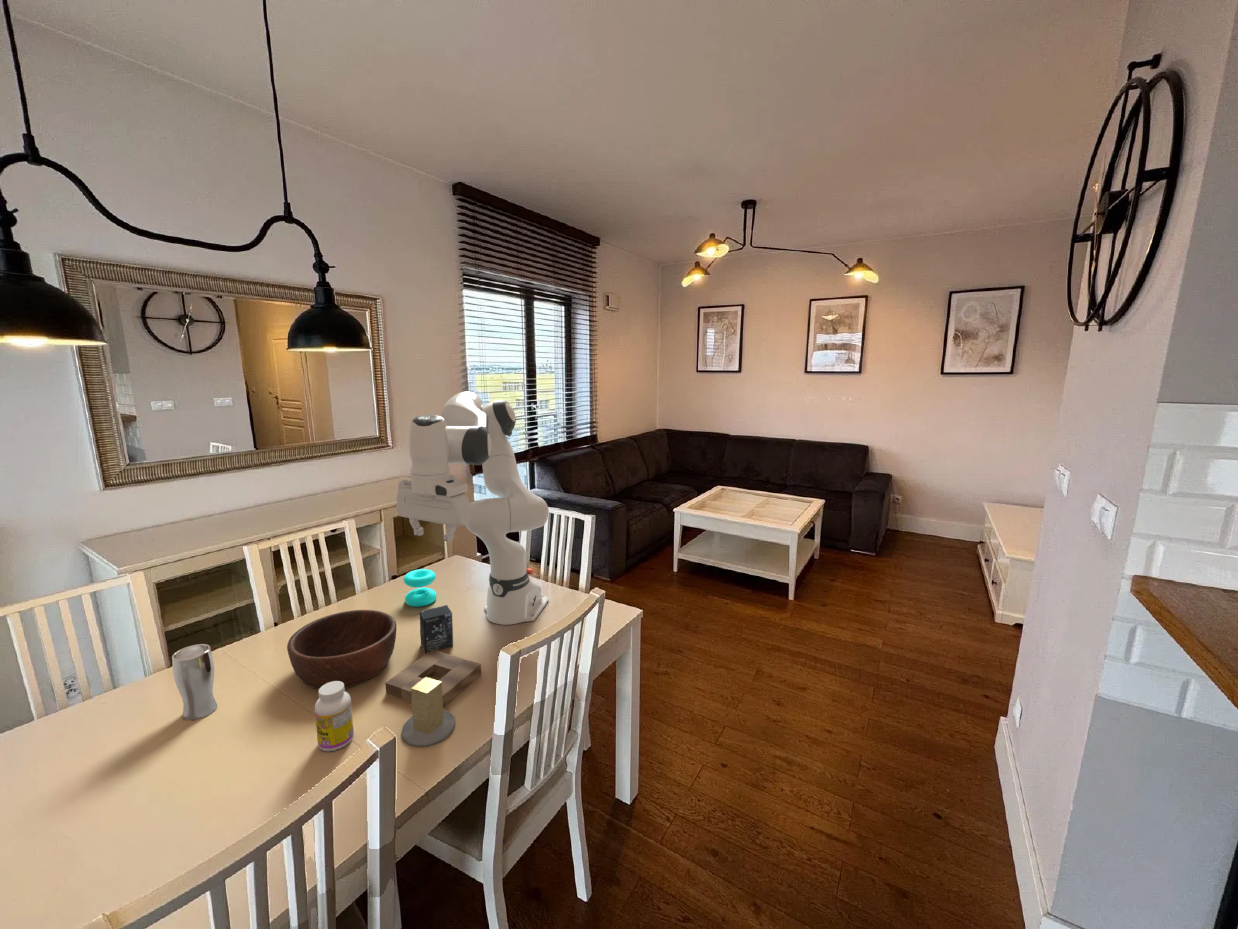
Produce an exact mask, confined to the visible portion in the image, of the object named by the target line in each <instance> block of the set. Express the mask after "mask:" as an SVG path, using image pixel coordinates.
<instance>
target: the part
mask: <svg viewBox="0 0 1238 929" xmlns="http://www.w3.org/2000/svg"><path fill="white" fill-rule="evenodd" d="M411 694H412V703H411V705H412V706H411V709H412V710H411V711H412V716H413V727H414V729H415V730H418V731H421V732H423V733H426V734H429V735H430V734H431V733H432V732H433V731H434V730H435V729H436V728H437V727H439V726H440V725H441V724H442V723H443V722H444V720H443V709H444V707H443V699H442V682H441V681H438V680H436V679H435V678H432V677H431V678H428V677H425V678H424V679H422V680H421V681H420V682H419V683H417V684H416V685H415V686H413V687H412V688H411Z"/></svg>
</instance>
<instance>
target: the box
mask: <svg viewBox="0 0 1238 929" xmlns="http://www.w3.org/2000/svg"><path fill="white" fill-rule="evenodd" d="M453 629H454V627H453V611H452V610H451V609H450V607H449V606H448V605H447V604H445V605H441V606H437V607H433V608H428V609H424V610H419V630H420V632H419V634H420V645H421V648H422V649H423V652H424V654H427V653H429V652H430V651H431V650H436V651H439V650H443V649H445V648H450V647H453V646H454V632H453Z"/></svg>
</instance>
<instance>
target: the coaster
mask: <svg viewBox="0 0 1238 929" xmlns="http://www.w3.org/2000/svg"><path fill="white" fill-rule="evenodd" d="M443 720H444V722H443V723H442V724H441V725H440V726H439V727H437V728H436V729H435V730H434V731H433V732H432V733H431V734H430V735H429V734H426V733H423V732H421V731H418V730H415V729H414V727H413V715H412V716H410V717H409V719H407V720H406V722H405V723H404V724H403V725H402V728H401V729H402V730H401V737H402V740H403V742H405V743H406V744H407V745H409V746H411V747H415V748H425V747H430V746H434V745H437V744H439V743H442V741H445V740H446V739H447V738H448V737H449V736H450V735H452V733H453V731H454V729H455V727H456V718H455V716H454V715H453V713H452V712H451V711H449V710H446V709H444V708H443Z"/></svg>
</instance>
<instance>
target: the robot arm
mask: <svg viewBox="0 0 1238 929" xmlns="http://www.w3.org/2000/svg"><path fill="white" fill-rule="evenodd" d="M516 423H517V418H516V414H515V410H514V408H513V407H512V406H511V404H510V403H509V402H508V401H506V400H504V399H496V400H493V402H490V403H485V404H483V401H482V399H481V397H480V396H479V395H477V394H476V393H475V392H472V391H461V392H458V393H456V394H455V395H453V396H451V397H450V398H449V399H448V400H447V401H446V403H445V404H444V405H443V407H442V409H441V412H440V415H435V414H425V415H418V416H416V417H415V418H413V419H412V420H411V422H410V427H409V442H408V443H409V444H408V446H409V457H410V459H411V466H410V467H411V469H410V480H407V479H402V480H401V481H400V482H399V483H398V485H397V493H396V494H397V495H396V506H395V507H396V509H395V510H396V514H397V515H398V516H399V517H401V518H407V519H408V520H409V521H408V522H409V523H410V526H411V527H412V529H413V535H414V536H418V537H421V536H423V535H424V534H425V533H424V527H422V526H421V524H420V522H419V521H424V522H430V523H436V524H441V525H446V529H447V533H444V534H443V541H445V542H449V543H451V542H453V541H454V539H455V538H454V534H455V532H456V530H457V529H458V528H459V527H463V526H465V527H466V528H467V530H468V531H469V532H470V533H472V534H473V535H475V536H476V537H478V538H479V539H480V540H481V541H482V542H483V543H484V545H485V546H486V548H487V551H488V556H489V564H490V573H489V576H488V581H489V586H488V587H487V597H486V605H484V612H486V619H487V620H488V621H489V622H491V623H493V624H496V625H505V626H507V625H516V624H519V623H524V622H525V623H526V622H532V621H535V620H536V619H537V618H538V616H539V615H540V614H541V612H542V611H543V609H544V608H545V607H546V605H547V604H548V603H549V597H547V596H546V595H544V594H542V587H541V585H540V584H538V583H537V582H535V581H534V580H532V579H530V576H533V575H534V568H529V567H527V551H526V548H525V547H524V546H523V545H522V544H521V543H519V542H518V541H515V540H512V539H510V538H508V537H507V534H508V533H517V532H526V531H527V532H528V531H532V530H535V529H538V528H542V527H544V526H545V525H546V523H547V521H548V519H549V515H550V513H549V512H550V510H549V507H548V504H547V502H546V500H544V499H543V498H542V497H541V496H539V495H537V494H535V493H533V492H532V491H530V490H529V488H528V487H526V486H525V485H524V483H523V482H522V480H521V478H520V477H521V476H520V474H519V469H518V465H517V460H516V456H515V452H514V450H513V447H512V444H511V442H510V440H509V439H508V437H511V436H512V435H513V430H514V428H515V426H516ZM449 464H450V465H451V464H454V465H455V464H457V465H459V464H461V465H462V464H464V465H465V464H466V465H473V466H482V474H483V482H484V485H485V487H486V489H487V490H488V491H489V492H490V493H491V494H493V495H495V496H497V497H492V498H483V499H478V500H476V501H472V502H470V499H469V496H468V494H467V493H466V492H468V490H469V488H468V487H469V486H468V484H467V483H466V482H465V481H463V480H461V479H459V478H457V477H456V476H454V475H452V474H451V470H450V466H449ZM529 575H530V576H529ZM547 602H548V603H547Z"/></svg>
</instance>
